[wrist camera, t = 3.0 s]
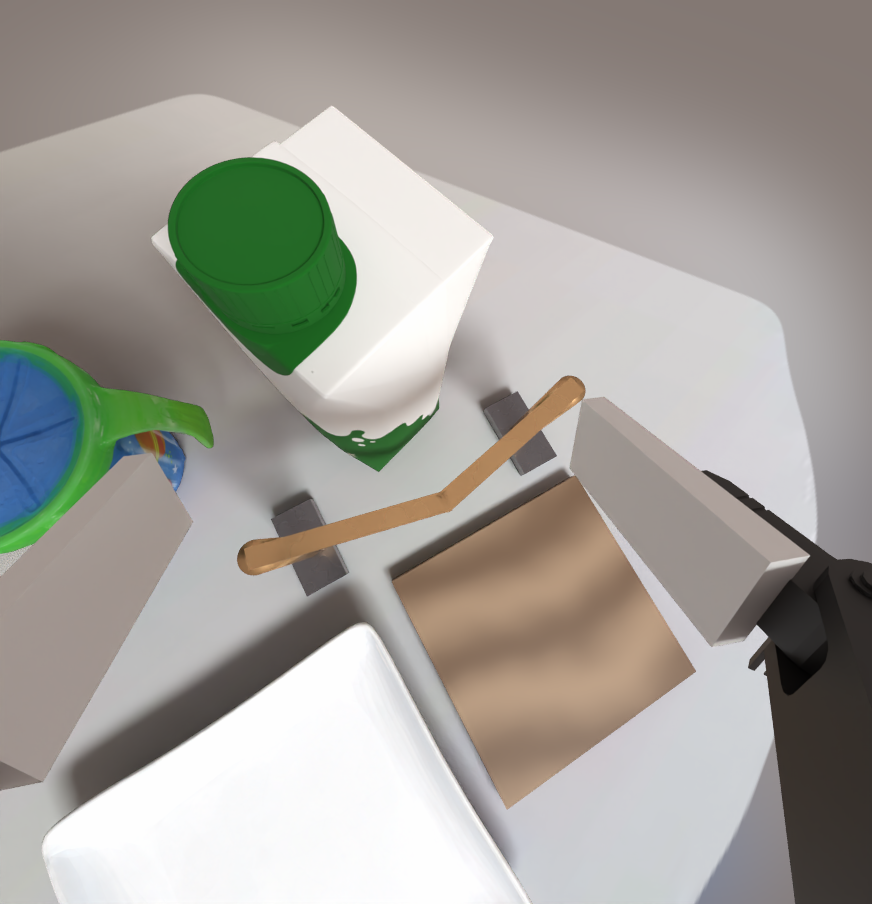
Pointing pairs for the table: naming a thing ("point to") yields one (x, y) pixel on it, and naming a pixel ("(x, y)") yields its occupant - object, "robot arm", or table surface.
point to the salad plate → (291, 804)
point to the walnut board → (541, 636)
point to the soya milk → (332, 277)
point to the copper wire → (316, 542)
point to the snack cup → (73, 437)
